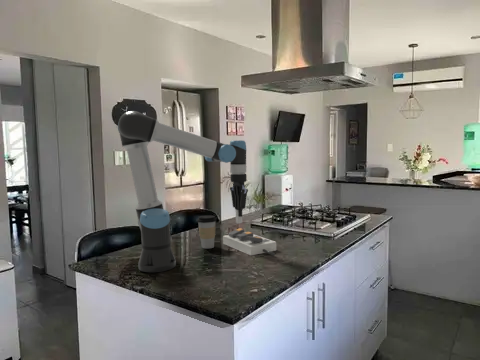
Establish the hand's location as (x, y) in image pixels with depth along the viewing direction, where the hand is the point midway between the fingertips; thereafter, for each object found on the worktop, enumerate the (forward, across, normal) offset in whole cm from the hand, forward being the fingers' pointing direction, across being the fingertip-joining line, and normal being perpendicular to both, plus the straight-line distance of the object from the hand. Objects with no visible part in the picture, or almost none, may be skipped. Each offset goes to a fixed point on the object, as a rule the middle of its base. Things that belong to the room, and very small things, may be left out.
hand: (239, 223), depth 185 cm
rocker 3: (+7, -8, -3) cm, 11 cm away
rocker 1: (+7, +8, -3) cm, 11 cm away
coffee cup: (+13, +12, +11) cm, 21 cm away
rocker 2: (+7, 0, -3) cm, 7 cm away
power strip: (+12, -4, -5) cm, 14 cm away
